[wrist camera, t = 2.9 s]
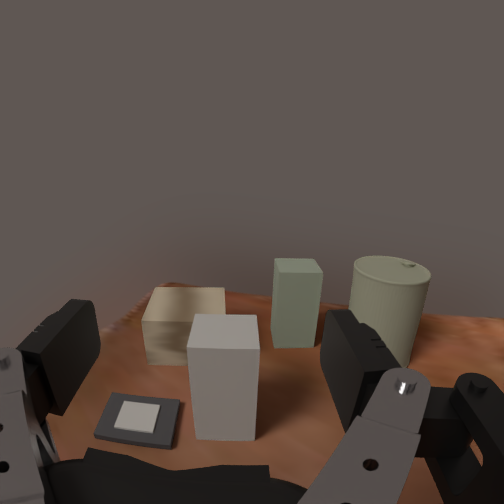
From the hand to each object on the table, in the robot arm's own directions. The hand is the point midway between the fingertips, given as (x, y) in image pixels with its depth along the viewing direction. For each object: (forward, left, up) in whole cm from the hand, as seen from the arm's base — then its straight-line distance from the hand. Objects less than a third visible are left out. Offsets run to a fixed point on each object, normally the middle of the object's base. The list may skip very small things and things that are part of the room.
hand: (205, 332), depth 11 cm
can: (-18, -22, -17) cm, 33 cm away
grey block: (0, -12, -17) cm, 21 cm away
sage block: (-8, -27, -17) cm, 33 cm away
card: (+8, -11, -17) cm, 22 cm away
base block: (+5, -25, -17) cm, 31 cm away
